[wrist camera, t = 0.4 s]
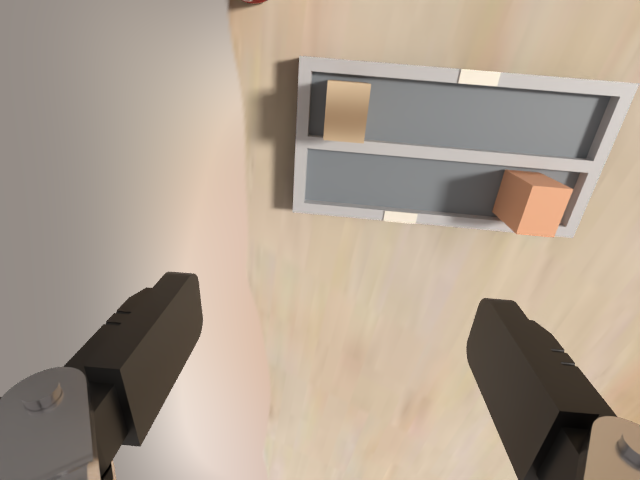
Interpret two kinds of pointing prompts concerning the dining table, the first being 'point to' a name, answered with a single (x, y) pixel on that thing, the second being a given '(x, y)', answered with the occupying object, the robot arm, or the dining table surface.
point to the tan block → (346, 111)
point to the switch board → (451, 141)
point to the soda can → (254, 1)
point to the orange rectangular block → (531, 202)
